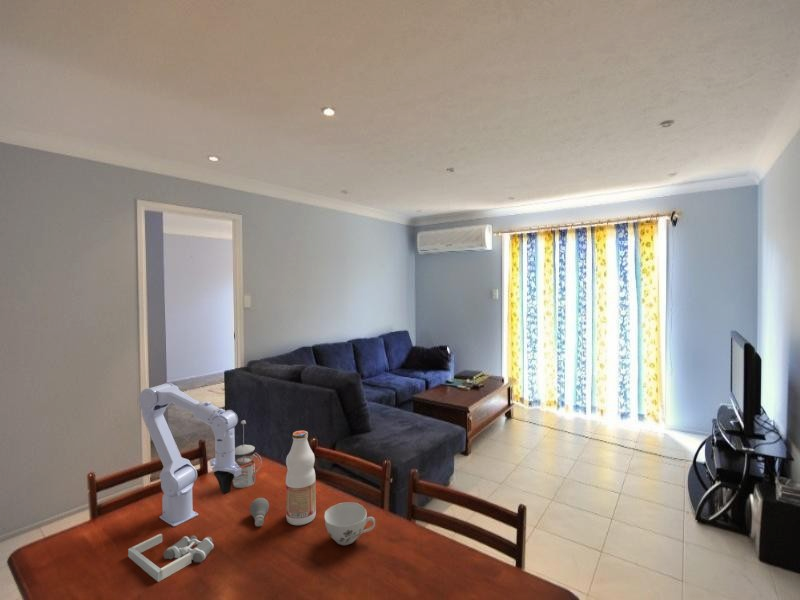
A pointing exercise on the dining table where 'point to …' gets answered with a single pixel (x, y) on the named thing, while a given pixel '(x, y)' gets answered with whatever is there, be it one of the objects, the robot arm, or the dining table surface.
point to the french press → (241, 450)
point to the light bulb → (259, 510)
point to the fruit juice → (300, 481)
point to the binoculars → (185, 546)
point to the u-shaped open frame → (150, 567)
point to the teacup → (347, 522)
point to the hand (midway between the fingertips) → (225, 492)
